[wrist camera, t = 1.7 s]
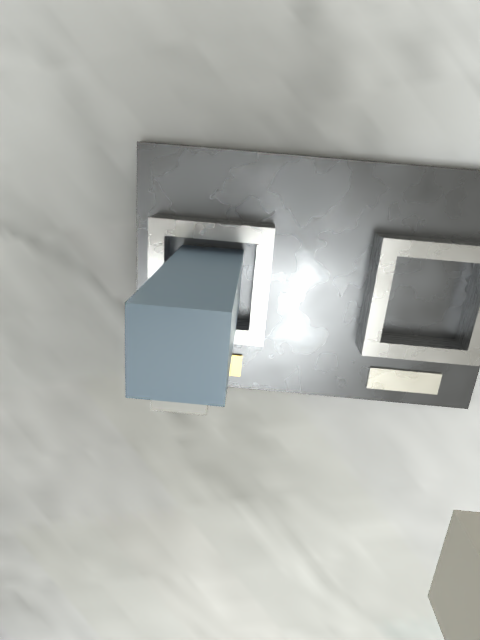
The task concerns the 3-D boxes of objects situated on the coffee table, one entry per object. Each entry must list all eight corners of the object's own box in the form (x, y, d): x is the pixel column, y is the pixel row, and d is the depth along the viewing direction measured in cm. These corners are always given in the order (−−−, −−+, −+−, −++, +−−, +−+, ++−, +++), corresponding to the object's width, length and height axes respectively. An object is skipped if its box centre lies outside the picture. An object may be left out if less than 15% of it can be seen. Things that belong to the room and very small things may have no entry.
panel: (139, 372, 33) (128, 391, 30) (141, 142, 28) (127, 139, 25) (461, 401, 33) (480, 424, 30) (525, 175, 27) (556, 176, 25)
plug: (179, 318, 30) (125, 421, 18) (182, 244, 29) (124, 302, 16) (237, 323, 30) (222, 430, 18) (243, 249, 29) (231, 312, 16)
